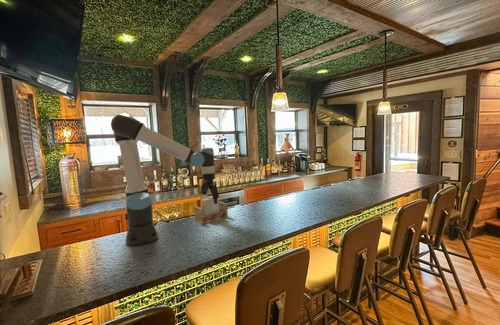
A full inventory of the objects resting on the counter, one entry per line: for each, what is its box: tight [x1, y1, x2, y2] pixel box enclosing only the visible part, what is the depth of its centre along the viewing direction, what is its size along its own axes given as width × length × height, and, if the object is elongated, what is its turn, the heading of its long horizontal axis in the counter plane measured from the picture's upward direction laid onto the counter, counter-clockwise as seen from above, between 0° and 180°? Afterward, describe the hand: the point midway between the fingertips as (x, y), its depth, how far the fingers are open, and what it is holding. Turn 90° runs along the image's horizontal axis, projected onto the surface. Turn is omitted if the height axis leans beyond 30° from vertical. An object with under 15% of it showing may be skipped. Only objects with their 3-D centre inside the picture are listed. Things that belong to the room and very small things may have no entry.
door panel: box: [201, 197, 220, 216], centre depth 156 cm, size 10×4×12 cm, turn 126°
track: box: [193, 200, 229, 225], centre depth 156 cm, size 18×10×9 cm, turn 126°
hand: (210, 206), depth 156 cm, fingers open, 13 cm apart
